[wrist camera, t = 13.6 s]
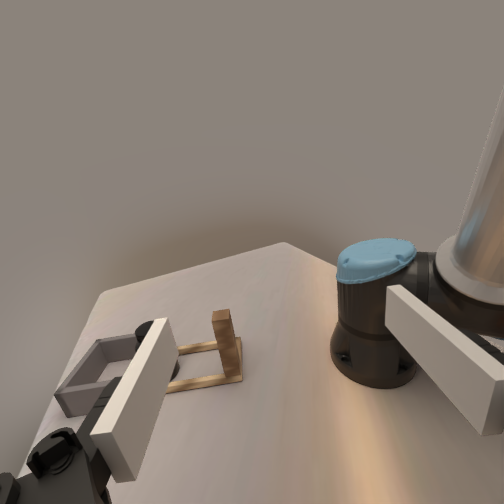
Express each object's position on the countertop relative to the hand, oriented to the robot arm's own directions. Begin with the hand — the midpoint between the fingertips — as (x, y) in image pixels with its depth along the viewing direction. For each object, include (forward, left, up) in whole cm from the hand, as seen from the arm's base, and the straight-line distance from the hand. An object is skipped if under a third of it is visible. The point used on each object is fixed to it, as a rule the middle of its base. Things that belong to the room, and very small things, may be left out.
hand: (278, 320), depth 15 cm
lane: (-14, -43, -30) cm, 54 cm away
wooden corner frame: (-20, -27, -30) cm, 45 cm away
